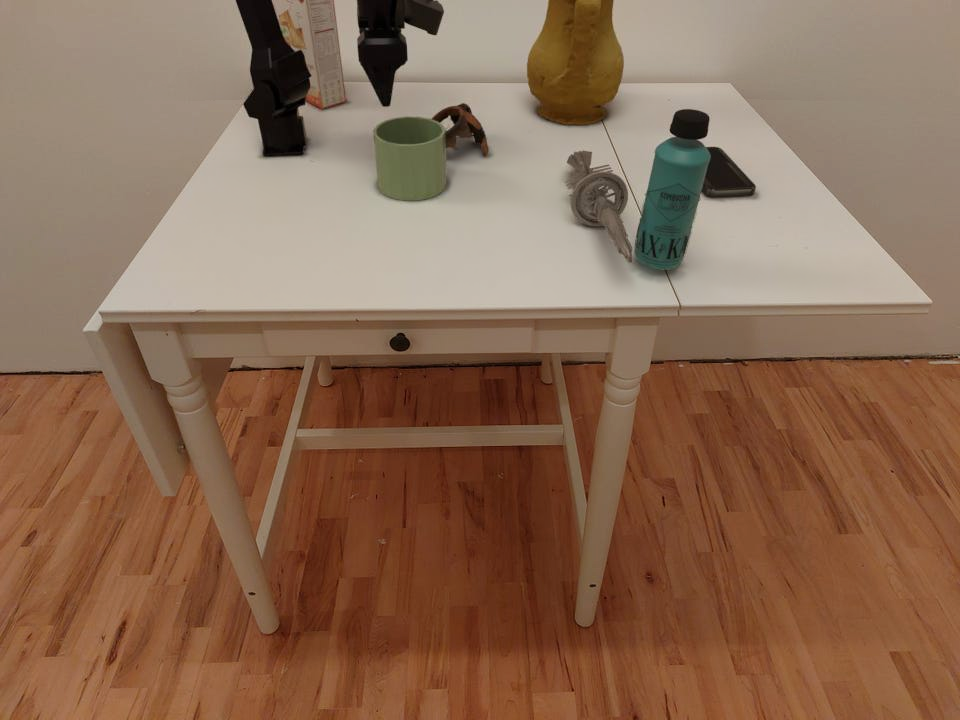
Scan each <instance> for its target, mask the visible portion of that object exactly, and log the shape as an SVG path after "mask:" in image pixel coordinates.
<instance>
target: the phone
mask: <svg viewBox="0 0 960 720" xmlns="http://www.w3.org/2000/svg"><path fill="white" fill-rule="evenodd" d="M705 147H706V148H707V149H708V151H709V153H710V155H711V159H710V162H709V164H708V167H707V171H706V175H705V179H704V183H703V186H702V190H701V192H702V193H703V194H704V196H707V197H709V198H729V197H730V198H731V197H750V196H753V195H754V194H755V191H756V189H757V185H756V184H755V183H754V181H752V179H751V178H749V176H748V175H746V173H745V172H744V171H743V170H742V169H741V168H740V167H739V166H738V165H737V164H736V163H735V162H734V160H733V159H732V158H731V157H730V156H729V155H728V154H727V153H726V152H725V150H723V149H722V148H721V147H719V146H705Z"/></svg>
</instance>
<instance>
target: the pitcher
mask: <svg viewBox="0 0 960 720" xmlns="http://www.w3.org/2000/svg"><path fill="white" fill-rule="evenodd" d="M613 9H614V0H548V2H547V9H546V15H545V20H544V23H543V26H542V28H541V31H540V33H539V34H538V37H537V38H536V39H535V41H534V43H533V45H532V46H531V47H530V50H529V53H528V57H527V62H526V77H527V85H528V87H529V92H530V94H531V95H532V96H533V97H534V98H535V99H536V100H537V101H538V103H540V106H539V107H538V109H537V114H538V115H540V117H542V118H544V119H546V120H548V121H550V122H554V123H559V124H562V125H563V126H570V125H574V126H575V125H576V126H584V125H585V126H586V125H590V124H591V125H592V124H594V123H597V122H600V121H603V120H604V119H605V117H606V110H605V108H604V106H606V105H608V104H609V103H612V102H613V101H614V100H615V98H616V97H617V94H618V92H619V88H620V86H621V83H622V79H623V73H624V67H625V59H624V52H623V50H622V45H620V42H619V39H618V38H617V35H616V31H615V29H614V28H615V27H614V23H613Z"/></svg>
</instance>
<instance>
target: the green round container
mask: <svg viewBox="0 0 960 720" xmlns="http://www.w3.org/2000/svg"><path fill="white" fill-rule="evenodd" d="M445 131H446V128H445V126H444V125H443V124H442V123H439V122H437V121H435V120H432V118H428V117H423V116H399V117H393V118H389V119H385V120H383V121H381V122H380V123H378V124H377V125H375V127H373V129H372V135H373V143H374V144H373V147H374V156H375V157H374V158H375V167H376V176H377V186H378V189H379V191H380V193H382V194H383V195H385V196H386V197H388V198H392V199H393V200H397V201H399V200H400V201H408V202H411V201H414V202H415V201H423V200H427V199H431V198H434V197H437V196H438V195H440V194H441V193H443V192H444V190H445V189H446V187H447V182H448V181H447V149H446V132H445Z"/></svg>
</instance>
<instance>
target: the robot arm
mask: <svg viewBox="0 0 960 720" xmlns="http://www.w3.org/2000/svg"><path fill="white" fill-rule="evenodd" d="M235 3H236V6H237V9H238V11H239V15H240V17H241V20H242V23H243V26H244V30H245V32H246V34H247V37H248V40H249V43H250V46H251V55H250V65H249V74H250V79H251V82H252V86H253V89H252V90H251V92H250V93H249V94H248V96H247V97H246V99H245V100H244V101H243V105H242V106H243V108H244V109H245V111H246V114H247V116H248V117H249V118H252V119H255V120H257V123H258V128H259V133H260V137H261V142H262V146H263V148H262V152H261V153H262V156H263V157H275V156H294V155H295V156H296V155H303V154H304V153H305V151H304V150H305V147H306V146H307V141H308V138H307V133H306V126H305V119H304V116H302V115H300V112H299V111H300V110H299V108H301V107H304V106H305V105H306V102H307V101H306V95H307V94H308V91H309V89H310V79H309V78H310V77H312V75H311V74H310V72H309V70H308V68H307V65H306V61H305V56H304V53H303V52H302V50H298V51H294V50H293V49H292V47H291V46H290V45H289V44H288V43H287V42H286V41H285V39H284V37H283V34H282V31H281V28H280V25H279V21H278V18H277V15H276V12H275V9H274V6H273V3H272V0H235ZM356 6H357V7H356V16H357V17H356V19H357V27H358V33H359V35H358V37H357V39H356V43H357V46H356V47H357V56H358V57H357V58H358V62H359V64H360V66H361V67H362V69H363V70H364V73H365V75H366V77H367V78H368V81H369V82H370V85H371V86H372V89H373V90H374V93H375V95H376V96H377V98H378V101H379V102H380V105H381V106H382V107H384V108H389V107H391V103H392V97H393V90H394V83H395V77H396V72H397V71H398V70H399V69H400V68H401V67H402V66H405V65H406V63H407V62H408V61H409V59H408V58H409V57H408V43H407V38H406V36H405V35H404V34H403V33H402V30H405V28H406V26H405V25H409V26H411V27H414V28H417V29H419V30H422V31H425V32H426V33H427V34H428V35H431V36H438V32H439V30H440V26H441V24H442V20H443V17H444V14H445V10H444V7H443V5H442V3H441V2H439V0H356Z"/></svg>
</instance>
